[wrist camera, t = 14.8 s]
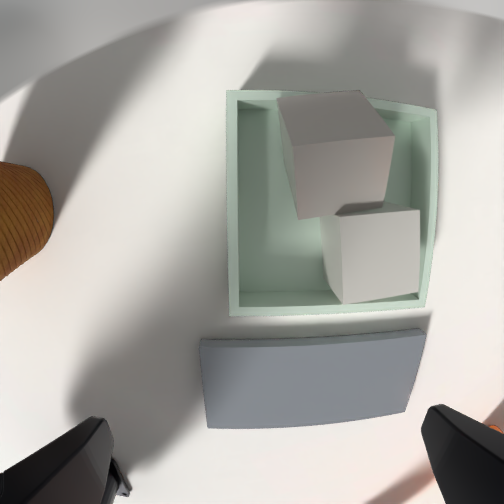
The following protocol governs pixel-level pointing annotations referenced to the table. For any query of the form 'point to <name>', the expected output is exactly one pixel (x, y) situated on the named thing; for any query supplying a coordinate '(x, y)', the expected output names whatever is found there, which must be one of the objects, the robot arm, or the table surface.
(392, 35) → the table surface
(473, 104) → the table surface
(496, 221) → the table surface
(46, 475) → the robot arm
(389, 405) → the slate board
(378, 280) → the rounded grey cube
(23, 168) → the disposable coffee cup
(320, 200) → the grey stone cube
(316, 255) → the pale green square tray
